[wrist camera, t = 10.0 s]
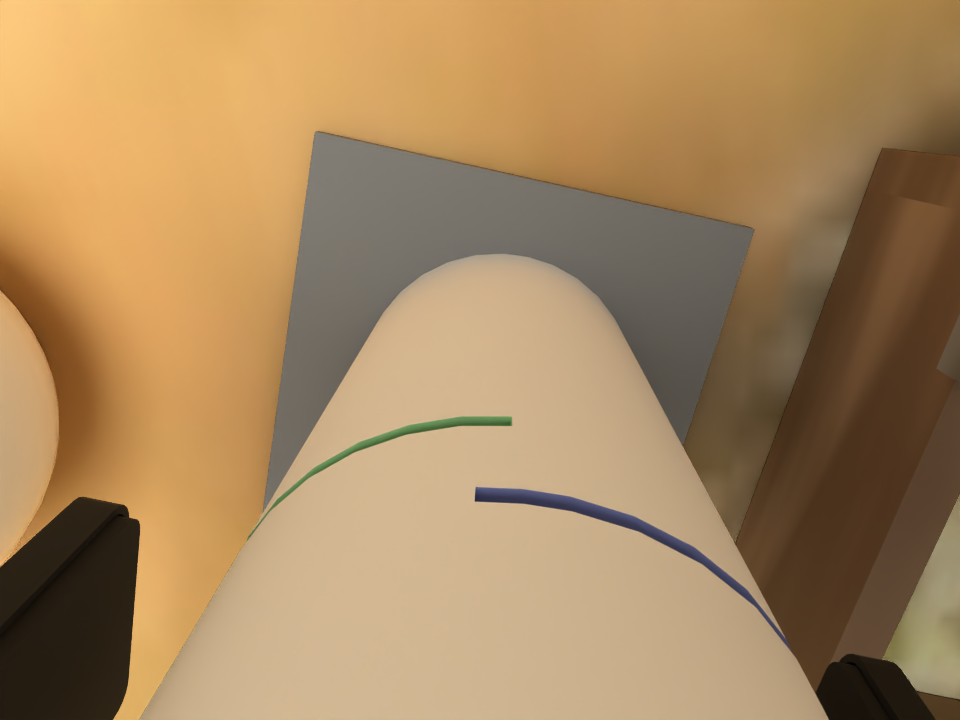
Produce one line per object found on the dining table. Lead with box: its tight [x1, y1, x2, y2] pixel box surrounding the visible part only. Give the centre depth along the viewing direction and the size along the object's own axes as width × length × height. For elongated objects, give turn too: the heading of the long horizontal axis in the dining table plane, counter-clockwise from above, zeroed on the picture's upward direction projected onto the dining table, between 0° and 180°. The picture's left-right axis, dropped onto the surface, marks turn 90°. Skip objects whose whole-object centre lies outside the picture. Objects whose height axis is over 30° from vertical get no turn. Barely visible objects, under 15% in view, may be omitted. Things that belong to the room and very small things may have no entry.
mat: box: [263, 131, 754, 512], centre depth 20 cm, size 11×11×1 cm
